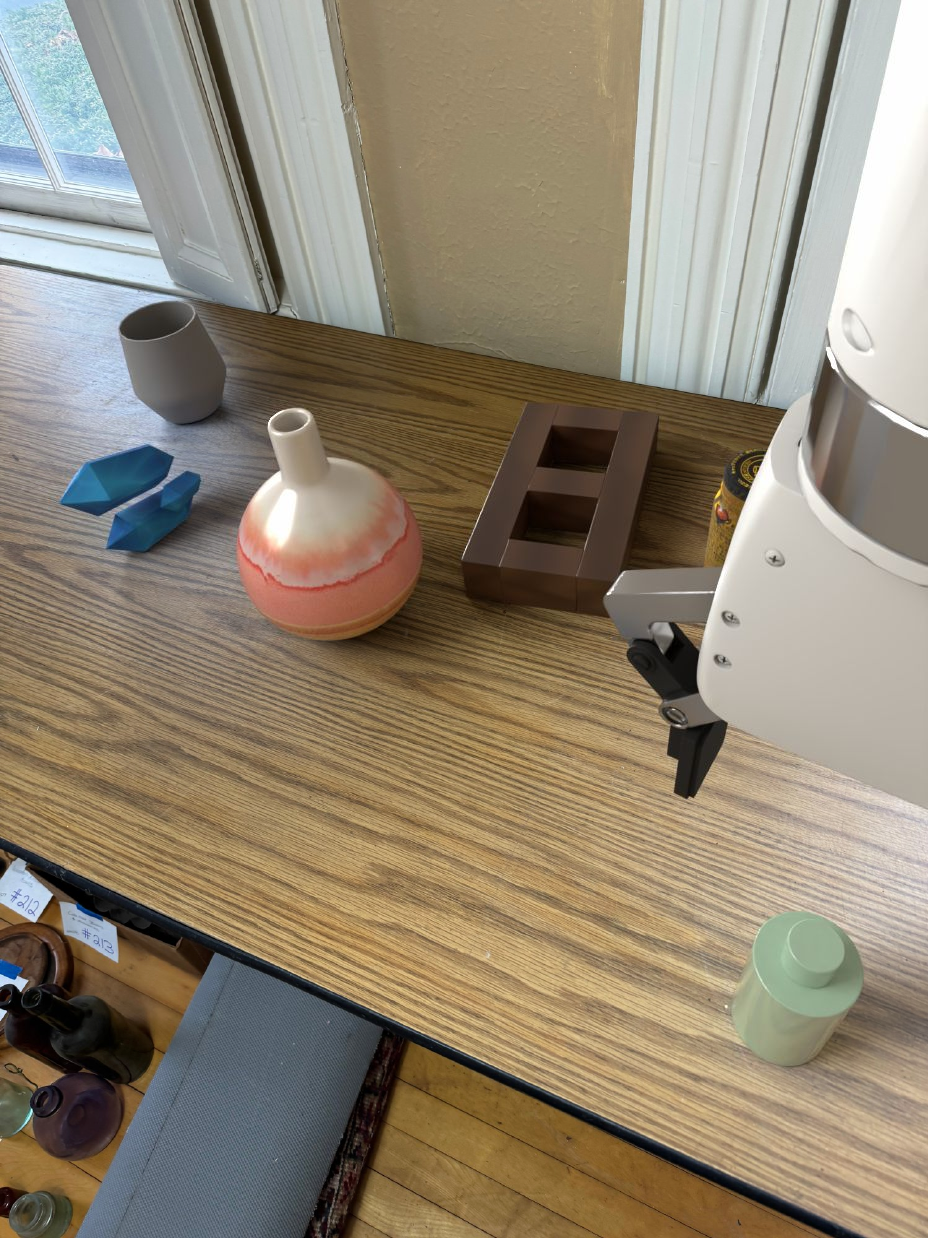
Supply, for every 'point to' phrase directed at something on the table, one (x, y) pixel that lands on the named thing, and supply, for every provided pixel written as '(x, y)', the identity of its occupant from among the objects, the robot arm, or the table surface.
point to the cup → (173, 361)
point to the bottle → (795, 987)
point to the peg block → (563, 508)
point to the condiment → (731, 503)
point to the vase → (326, 540)
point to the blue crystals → (133, 495)
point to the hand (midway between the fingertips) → (828, 826)
